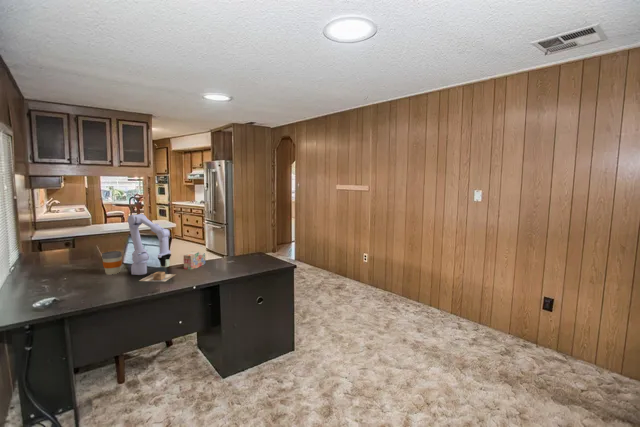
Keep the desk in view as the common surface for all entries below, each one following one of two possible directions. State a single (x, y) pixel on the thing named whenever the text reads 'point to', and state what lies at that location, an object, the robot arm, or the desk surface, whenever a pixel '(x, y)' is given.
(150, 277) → the baseplate
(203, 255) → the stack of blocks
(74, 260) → the desk surface
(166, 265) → the sage block
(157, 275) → the oak block
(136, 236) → the robot arm
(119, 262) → the reusable coffee cup
